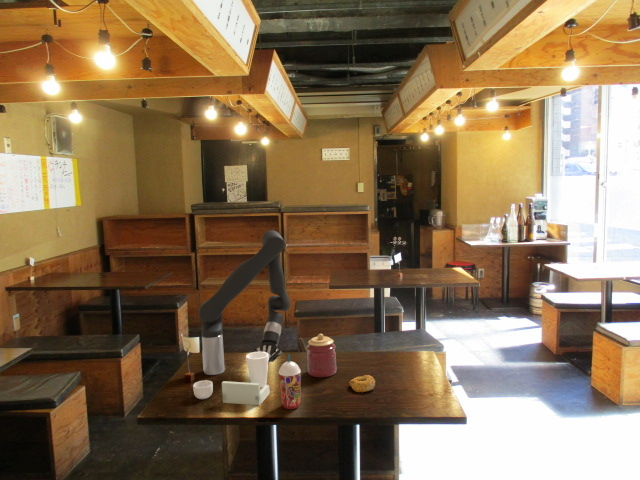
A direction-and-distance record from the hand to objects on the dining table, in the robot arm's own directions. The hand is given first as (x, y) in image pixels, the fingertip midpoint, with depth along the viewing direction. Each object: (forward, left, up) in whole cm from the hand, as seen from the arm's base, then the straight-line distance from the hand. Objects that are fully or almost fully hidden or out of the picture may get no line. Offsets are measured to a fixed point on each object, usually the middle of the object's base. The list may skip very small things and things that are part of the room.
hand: (263, 369), depth 211 cm
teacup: (-6, -26, -5) cm, 27 cm away
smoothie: (+29, -10, -5) cm, 31 cm away
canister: (+14, +22, -5) cm, 26 cm away
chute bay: (+10, -17, -4) cm, 20 cm away
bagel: (+39, +20, -5) cm, 44 cm away
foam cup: (+3, -5, -5) cm, 8 cm away
